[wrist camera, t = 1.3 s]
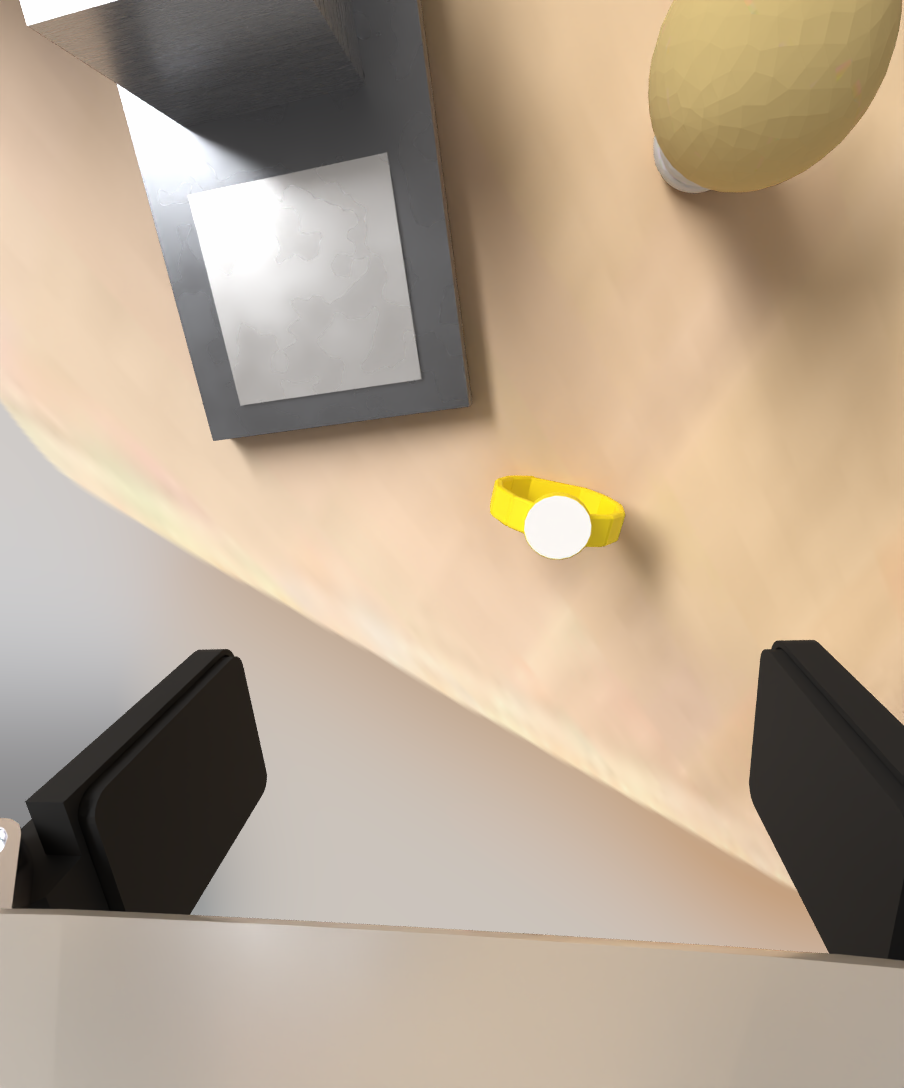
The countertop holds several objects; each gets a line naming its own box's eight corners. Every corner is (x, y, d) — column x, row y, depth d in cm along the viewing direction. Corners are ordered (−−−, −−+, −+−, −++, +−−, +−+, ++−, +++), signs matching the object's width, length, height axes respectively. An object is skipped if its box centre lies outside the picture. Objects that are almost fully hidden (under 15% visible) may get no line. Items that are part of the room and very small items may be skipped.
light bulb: (766, 230, 24) (921, 152, 14) (610, 234, 25) (660, 163, 15) (795, 43, 22) (1000, -191, 12) (624, 54, 22) (693, -159, 13)
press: (395, -203, 21) (295, -616, 12) (472, 403, 28) (445, 428, 19) (87, -104, 23) (-193, -391, 14) (228, 436, 30) (99, 473, 21)
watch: (493, 507, 29) (475, 541, 24) (505, 455, 29) (488, 478, 23) (608, 534, 29) (617, 576, 23) (624, 481, 28) (636, 512, 22)
